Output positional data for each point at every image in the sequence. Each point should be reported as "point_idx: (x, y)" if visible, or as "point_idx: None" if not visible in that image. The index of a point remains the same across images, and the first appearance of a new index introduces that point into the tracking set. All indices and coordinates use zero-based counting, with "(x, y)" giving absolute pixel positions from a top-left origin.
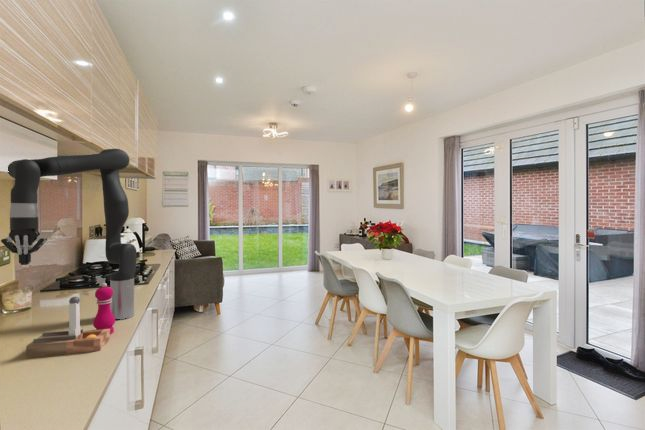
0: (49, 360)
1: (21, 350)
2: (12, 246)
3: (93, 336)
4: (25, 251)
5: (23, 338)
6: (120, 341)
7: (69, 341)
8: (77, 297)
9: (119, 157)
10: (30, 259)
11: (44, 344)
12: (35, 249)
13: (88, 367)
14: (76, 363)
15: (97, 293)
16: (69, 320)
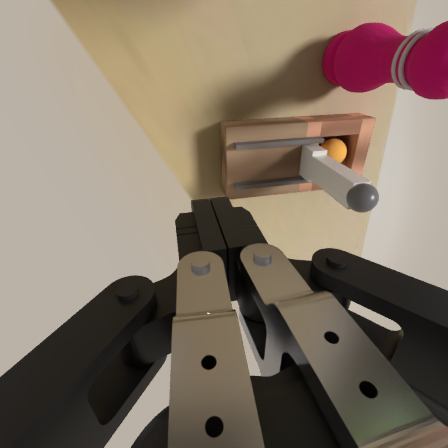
0: (268, 205)
1: (186, 144)
2: (112, 415)
3: (342, 159)
4: (261, 328)
5: (130, 40)
6: (378, 133)
7: (304, 189)
8: (377, 202)
9: None
10: (253, 224)
11: (259, 195)
12: (360, 327)
13: (334, 237)
14: (314, 222)
15: (428, 94)
16: (320, 187)
